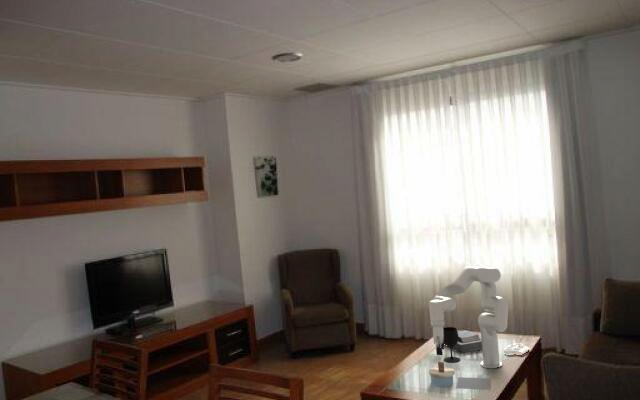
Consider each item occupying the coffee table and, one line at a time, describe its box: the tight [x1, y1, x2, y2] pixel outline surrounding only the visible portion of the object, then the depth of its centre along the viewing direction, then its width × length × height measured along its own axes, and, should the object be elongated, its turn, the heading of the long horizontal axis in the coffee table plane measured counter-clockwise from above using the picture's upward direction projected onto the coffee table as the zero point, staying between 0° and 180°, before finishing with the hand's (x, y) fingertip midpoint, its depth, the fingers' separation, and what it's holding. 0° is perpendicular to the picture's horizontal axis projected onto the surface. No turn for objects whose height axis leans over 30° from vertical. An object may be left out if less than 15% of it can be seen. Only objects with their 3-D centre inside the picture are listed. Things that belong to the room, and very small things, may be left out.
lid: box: [428, 360, 455, 378], centre depth 297 cm, size 14×14×6 cm
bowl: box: [430, 375, 454, 388], centre depth 297 cm, size 12×12×6 cm
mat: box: [456, 376, 492, 391], centre depth 292 cm, size 16×18×1 cm
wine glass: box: [443, 326, 461, 364], centre depth 333 cm, size 10×10×20 cm
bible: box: [452, 329, 482, 354], centre depth 357 cm, size 23×27×10 cm
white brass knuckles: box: [503, 342, 532, 354], centre depth 338 cm, size 3×18×15 cm
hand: (440, 351), depth 297 cm, fingers open, 9 cm apart
